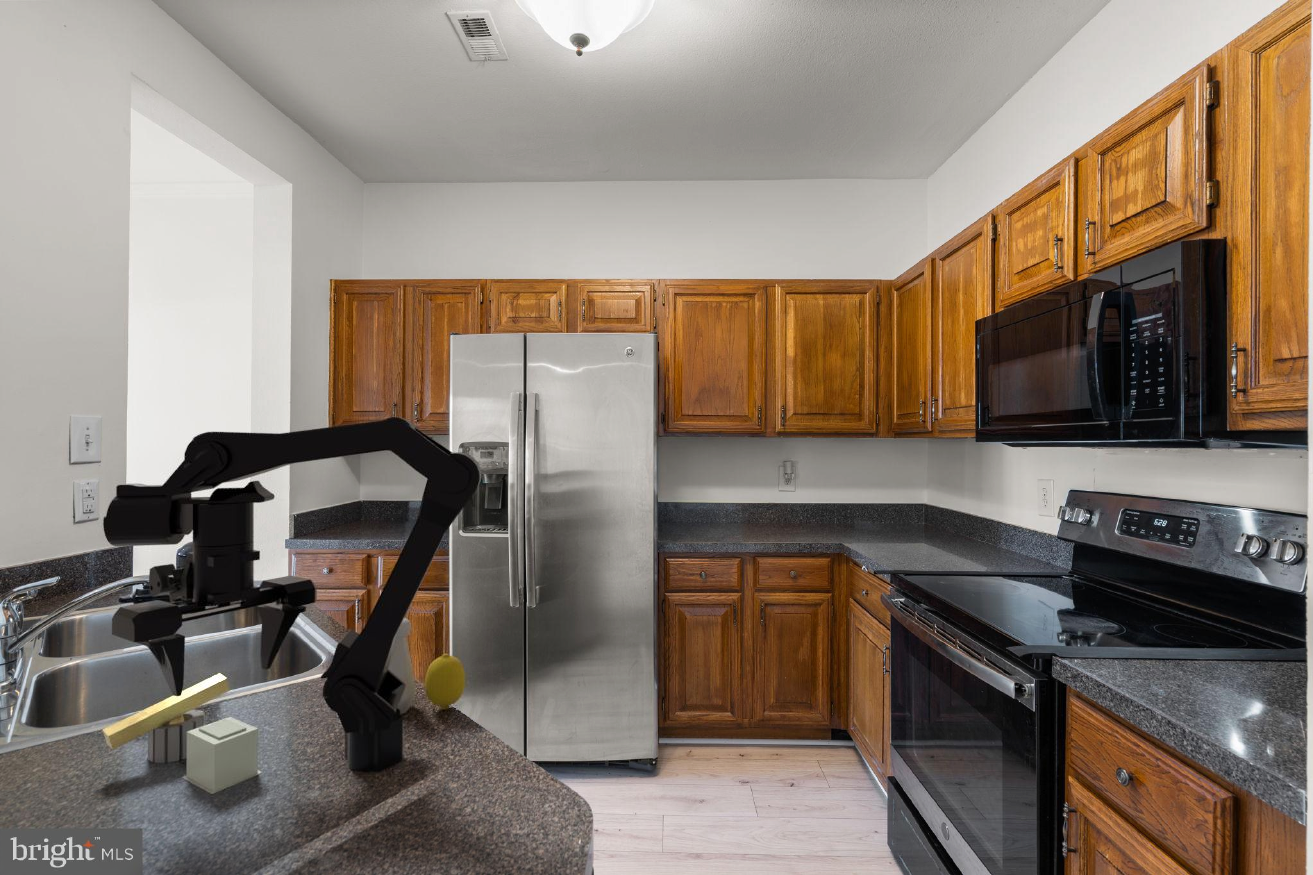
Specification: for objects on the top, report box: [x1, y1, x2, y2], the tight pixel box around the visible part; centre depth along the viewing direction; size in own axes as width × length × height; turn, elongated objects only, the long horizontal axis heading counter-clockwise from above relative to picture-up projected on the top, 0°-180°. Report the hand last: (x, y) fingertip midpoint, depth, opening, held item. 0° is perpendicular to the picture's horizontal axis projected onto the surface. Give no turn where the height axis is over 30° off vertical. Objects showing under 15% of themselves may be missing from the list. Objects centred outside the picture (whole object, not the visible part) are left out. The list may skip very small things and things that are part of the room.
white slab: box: [147, 709, 263, 795], centre depth 75 cm, size 17×10×5 cm, turn 60°
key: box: [102, 673, 230, 750], centre depth 78 cm, size 12×2×6 cm, turn 144°
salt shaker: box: [388, 617, 417, 715], centre depth 93 cm, size 6×6×13 cm
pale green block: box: [185, 716, 259, 791], centre depth 73 cm, size 6×4×5 cm
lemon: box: [424, 653, 466, 711], centre depth 93 cm, size 6×6×8 cm
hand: (223, 681), depth 73 cm, fingers open, 9 cm apart
